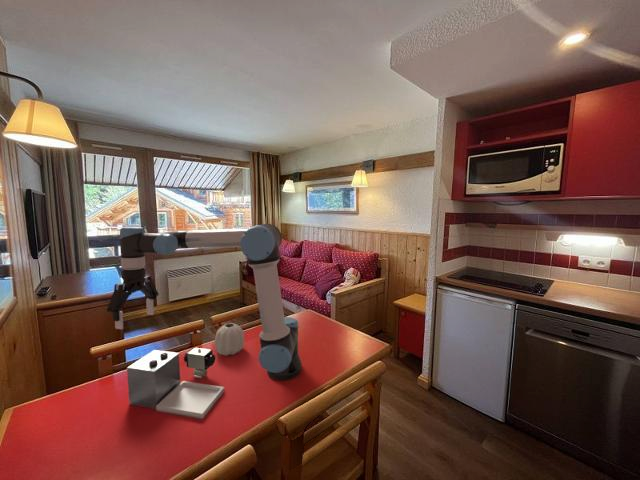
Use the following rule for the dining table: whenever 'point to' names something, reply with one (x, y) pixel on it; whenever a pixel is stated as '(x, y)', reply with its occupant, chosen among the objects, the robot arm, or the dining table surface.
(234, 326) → the vase
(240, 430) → the dining table surface
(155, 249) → the robot arm
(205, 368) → the pneumatic valve
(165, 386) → the control box
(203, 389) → the parts tray
